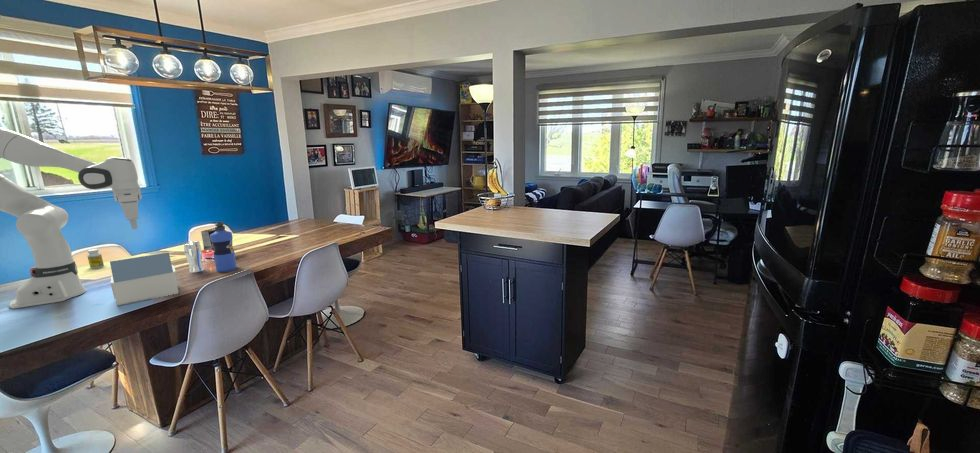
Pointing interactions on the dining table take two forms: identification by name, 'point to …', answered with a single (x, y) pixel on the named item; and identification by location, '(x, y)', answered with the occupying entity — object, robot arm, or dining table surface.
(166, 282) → the carton
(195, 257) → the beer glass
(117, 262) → the front flap
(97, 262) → the supplement bottle
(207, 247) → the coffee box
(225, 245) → the water bottle
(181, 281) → the dining table surface
